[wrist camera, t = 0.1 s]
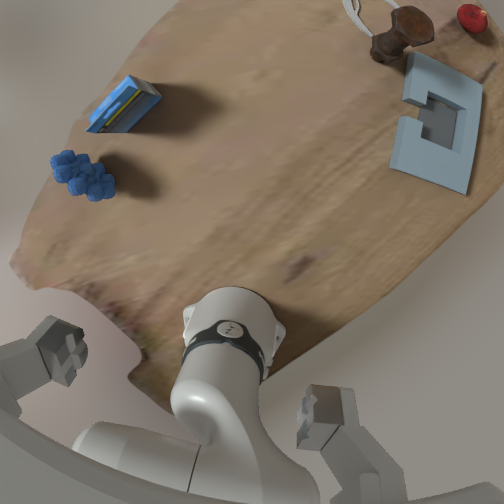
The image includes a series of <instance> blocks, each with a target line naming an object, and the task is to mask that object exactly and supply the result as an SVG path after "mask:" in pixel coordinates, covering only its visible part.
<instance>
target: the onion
mask: <svg viewBox="0 0 504 504" xmlns="http://www.w3.org/2000/svg"><path fill="white" fill-rule="evenodd" d="M486 16H487V12H486V11H484V10H482V9H480V8H479V7H477V6H475V5H472V4H464V5H462V6H461V7H460V8H459V9H458V12H457V18H458V21H459V22H460V24H461V25H462V26H463V27H464V28H465V29H466V30H468V31H470V32H472V33H476V34H477V33H481V32H484V31H485V30H486V28H487V25H488V21H487V17H486Z"/></svg>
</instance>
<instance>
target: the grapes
mask: <svg viewBox="0 0 504 504" xmlns="http://www.w3.org/2000/svg"><path fill="white" fill-rule="evenodd" d="M50 163H51V167H52V168H53V170H54V172H53V174H54V178H55V179H56V181H57V182H58V183H67V184H68V191H69V192H70V194H71V195H73V196H78V195H82V194H84V193H85V194H86V196H87V198H88V199H89V201H94V202H97V201H101V200H102V199H110V198H112V197H113V196H115V188H114V186H115V180H114V177H113V175H112V174H105V172H106V171H105V168H104V166H103V164H102V163H94V164H92V163H91V162H90V158H89V156H88V154H78V155H76V156H75V154H74V152H73V150H66V151H62V152H61V153H60V154H58V155H55V156H53V157H52V158H51V161H50Z"/></svg>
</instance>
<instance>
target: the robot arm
mask: <svg viewBox="0 0 504 504" xmlns="http://www.w3.org/2000/svg"><path fill="white" fill-rule="evenodd" d="M183 317H184V324H185V330H184V333H183V338H185V345H186V349H185V351H184V354H183V359H182V368H181V370H180V373H179V375H178V377H177V380H176V382H175V385H174V387H173V389H172V392H171V407H172V410H173V413H174V415H175V416H176V418H177V420H178V421H179V423H180V424H181V425H182V426H183V428H184V429H186V430H187V431H188V432H189V433H190V434H192V435H193V436H194V437H196V438H197V439H198V440H199V441H201V442H202V443H203V444H204V445H203V444H202V445H200V444H196V443H192V442H188V441H184V440H180V439H176V438H173V437H169V436H166V435H162V434H159V433H156V432H153V431H149V430H146V429H143V428H139V427H133V426H127V425H121V424H115V423H109V422H103V421H100V422H97V423H95V424H92V425H91V426H89V427H88V428H86V429H85V430H84V431H83V432H82V433H81V434H80V435H79V436H78V437H77V439H76V440H75V442H74V444H73V447H72V449H69V448H68V447H66V446H64V445H62V444H60V443H58V442H56V441H54V440H52V439H51V438H49V437H47V436H45V435H44V434H42V433H40V432H39V431H37V430H35V429H34V428H32V427H30V426H29V425H27V424H26V423H24V422H23V421H21V420H19V419H18V418H19V417H20V415H21V413H22V409H21V407H20V406H19V404H18V403H17V401H16V400H18V399H20V398H21V397H23V396H25V395H27V394H29V393H30V392H32V391H34V390H36V389H37V388H39V387H41V386H43V385H45V384H46V383H48V382H50V381H51V380H53V381H55V382H58V383H60V384H62V385H64V386H67V387H69V386H70V385H71V383H72V382H73V380H74V379H75V377H76V376H77V374H76V370H77V369H80V368H82V367H83V365H84V364H85V362H86V359H87V356H88V348H87V344H86V343H85V342H84V340H83V337H84V332H83V329H82V328H80V327H77V326H75V325H72V324H70V323H68V322H65V321H63V320H61V319H58V318H56V317H54V316H51V315H50V316H47V317H46V318H45V319H44V320H43V321H42V322H41V323H40V324H39V325H38V326H37V327H36V329H35V330H34V331H33V332H32V333H31V334H30V335H29V336H28V337H27V338H26V339H19V340H17V341H14V342H11V343H8V344H5V345H2V346H0V504H320V493H319V489H318V486H317V483H316V481H315V480H314V478H313V476H312V475H311V474H310V472H309V471H308V470H307V469H306V468H305V467H303V466H301V465H299V464H298V463H296V462H294V461H293V460H292V459H290V458H289V457H287V455H285V454H284V453H283V452H282V451H281V450H280V449H279V448H278V447H277V446H276V445H275V443H274V442H273V441H272V439H271V438H270V437H269V435H268V434H267V432H266V430H265V428H264V427H263V424H262V422H261V419H260V415H259V386H260V385H261V382H262V380H264V379H266V378H267V376H268V373H269V369H268V368H267V366H271V365H272V363H273V359H272V358H273V357H274V355H275V353H276V351H277V349H278V347H279V346H280V344H281V342H282V341H283V339H284V337H285V335H286V328H285V327H284V326H283V325H282V324H281V323H280V322H279V321H278V320H276V318H275V316H274V314H273V312H272V310H271V308H270V306H269V305H268V304H267V302H266V301H265V300H264V299H263V298H261V297H260V296H259V295H257V294H256V293H254V292H252V291H250V290H247V289H244V288H239V287H224V288H219V289H216V290H214V291H212V292H210V293H208V294H207V295H206V296H205V297H203V298H202V299H201V300H200V301H199V302H198V303H195V304H192V305H189V306H187V307H186V308H185V309H184V312H183ZM277 336H278V338H277ZM297 423H298V425H299V426H300V429H299V430H298V432H297V449H303V450H312V451H320V453H321V455H322V456H323V458H324V460H325V461H326V463H327V464H328V466H329V468H330V469H331V471H332V473H333V474H334V476H335V477H336V479H337V480H338V482H339V484H340V485H341V487H342V488H343V490H342V491H340V492H339V493H338V494H336V495H335V496H334V497H333V498H331V499H330V504H504V492H503V491H501V490H500V489H499V488H498V487H496V486H495V485H493V484H492V483H490V482H482V483H478V484H475V485H472V486H469V487H466V488H463V489H459V490H456V491H452V492H448V493H444V494H440V495H436V496H431V497H426V498H421V499H416V500H411V501H408V498H407V492H406V485H405V480H404V474H403V469H402V468H401V467H400V466H399V465H398V464H397V463H396V462H395V461H394V460H393V458H391V456H390V455H389V454H388V453H387V452H386V451H385V450H384V449H383V447H382V446H381V445H380V444H379V443H378V442H377V441H376V440H375V439H374V437H373V436H372V435H371V434H370V433H369V432H368V431H367V430H366V428H365V427H364V426H360V424H359V418H358V412H357V406H356V400H355V394H354V390H353V389H352V388H342V387H333V386H323V385H314V384H310V385H309V386H308V388H307V390H306V397H304V398H302V400H301V402H300V405H299V409H298V414H297Z"/></svg>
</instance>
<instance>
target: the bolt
mask: <svg viewBox="0 0 504 504" xmlns="http://www.w3.org/2000/svg"><path fill="white" fill-rule="evenodd" d="M391 17H392V28H391V29H390V30H389V31H388V32H385V33H381V34H378V35H376V36H374V37H373V38H372V48H371V50H370V55H372V58H373V60H375V61H378V62H381V63H384V62H387V63H388V62H392V61H395V60H397V59H400V58H402V57H403V49H405V48H406V47H407V46H409V45H411V46H412V47H416V46H420V45H423V44H427V43H430V42H432V41H434V26H433V23H432V21H431V20H430V18H429V17H428V16H427V15H426V14H425V13H424V12H422V11H421V10H419V9H418V8H416V7H414V6H403V7H400V8H397V9H394V10H393V11H392V12H391Z"/></svg>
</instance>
